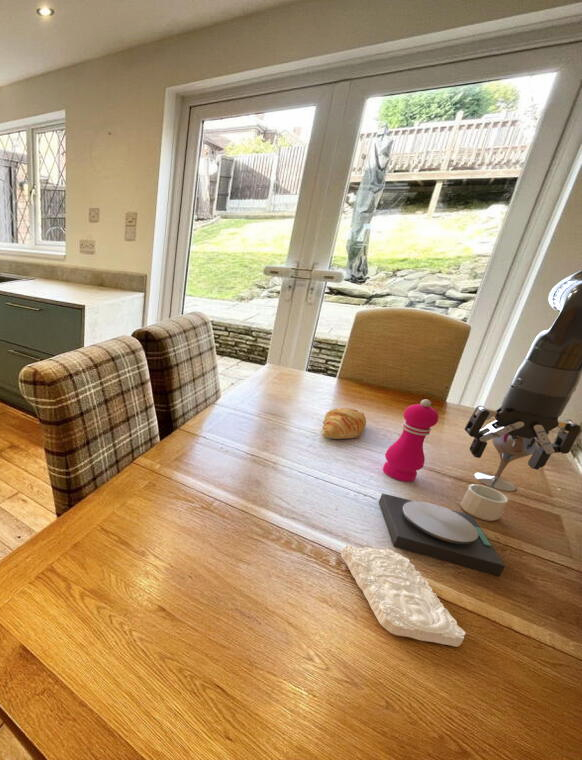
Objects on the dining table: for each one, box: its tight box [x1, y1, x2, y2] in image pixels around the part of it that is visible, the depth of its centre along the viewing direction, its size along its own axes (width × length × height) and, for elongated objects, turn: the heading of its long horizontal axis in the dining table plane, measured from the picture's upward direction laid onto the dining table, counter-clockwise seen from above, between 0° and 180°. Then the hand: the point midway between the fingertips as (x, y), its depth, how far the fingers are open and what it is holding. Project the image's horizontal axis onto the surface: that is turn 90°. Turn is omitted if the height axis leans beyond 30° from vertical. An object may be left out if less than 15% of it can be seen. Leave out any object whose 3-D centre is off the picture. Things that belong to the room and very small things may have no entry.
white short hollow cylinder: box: [460, 483, 509, 522], centre depth 82 cm, size 6×6×5 cm
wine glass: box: [473, 427, 550, 492], centre depth 90 cm, size 8×8×15 cm
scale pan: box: [402, 500, 478, 544], centre depth 76 cm, size 11×11×1 cm
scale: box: [378, 493, 506, 577], centre depth 76 cm, size 15×14×3 cm
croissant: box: [321, 407, 367, 440], centre depth 114 cm, size 21×10×8 cm, turn 124°
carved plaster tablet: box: [340, 544, 466, 648], centre depth 64 cm, size 11×16×3 cm
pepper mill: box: [382, 399, 440, 483], centre depth 92 cm, size 7×7×20 cm
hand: (503, 461), depth 78 cm, fingers open, 8 cm apart
